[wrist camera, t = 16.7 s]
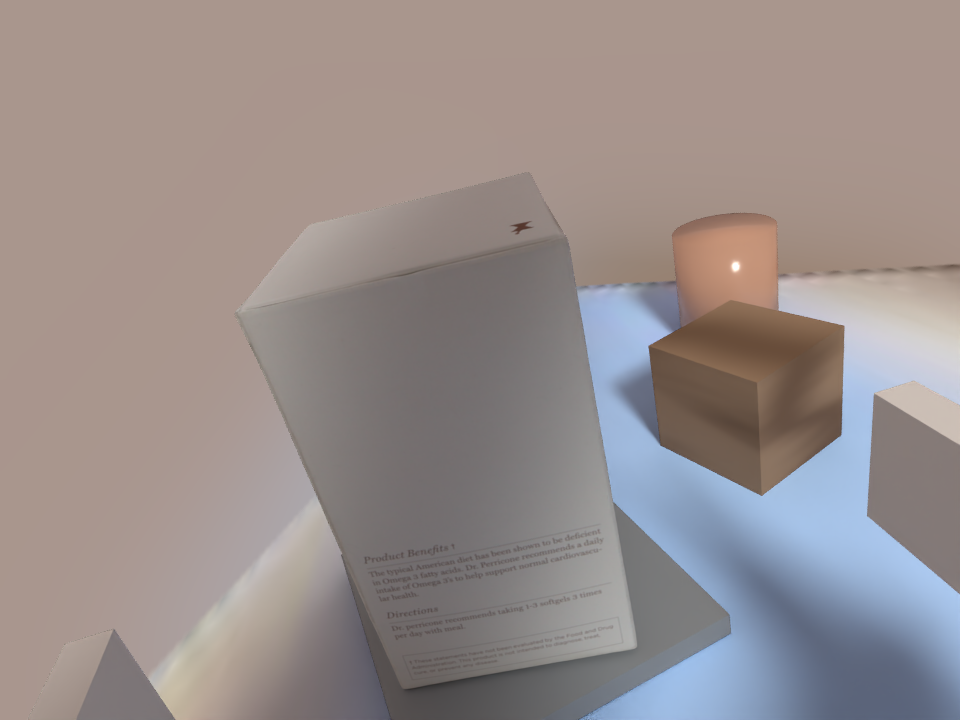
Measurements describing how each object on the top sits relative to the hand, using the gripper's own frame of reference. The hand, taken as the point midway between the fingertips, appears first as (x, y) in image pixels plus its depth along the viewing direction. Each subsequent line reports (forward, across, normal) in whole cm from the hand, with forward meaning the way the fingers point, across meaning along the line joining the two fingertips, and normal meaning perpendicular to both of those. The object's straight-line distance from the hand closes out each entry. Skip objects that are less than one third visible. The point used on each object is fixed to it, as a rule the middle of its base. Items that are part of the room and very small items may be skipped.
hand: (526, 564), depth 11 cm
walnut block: (+12, +11, -9) cm, 19 cm away
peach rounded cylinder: (+21, +16, -9) cm, 28 cm away
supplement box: (+8, 0, -8) cm, 12 cm away
